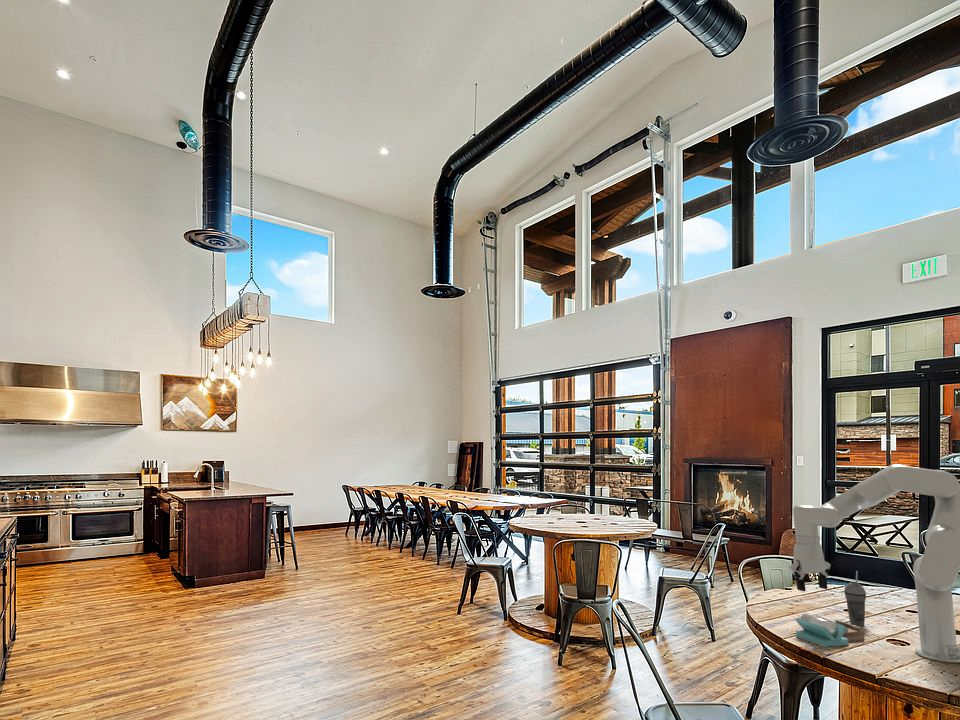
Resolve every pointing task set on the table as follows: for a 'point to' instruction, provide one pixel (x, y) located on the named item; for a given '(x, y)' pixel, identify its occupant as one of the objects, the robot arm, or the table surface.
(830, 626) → the axle
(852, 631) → the tan stepped block
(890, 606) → the table surface
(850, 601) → the beverage cup
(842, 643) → the v block
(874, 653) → the table surface
